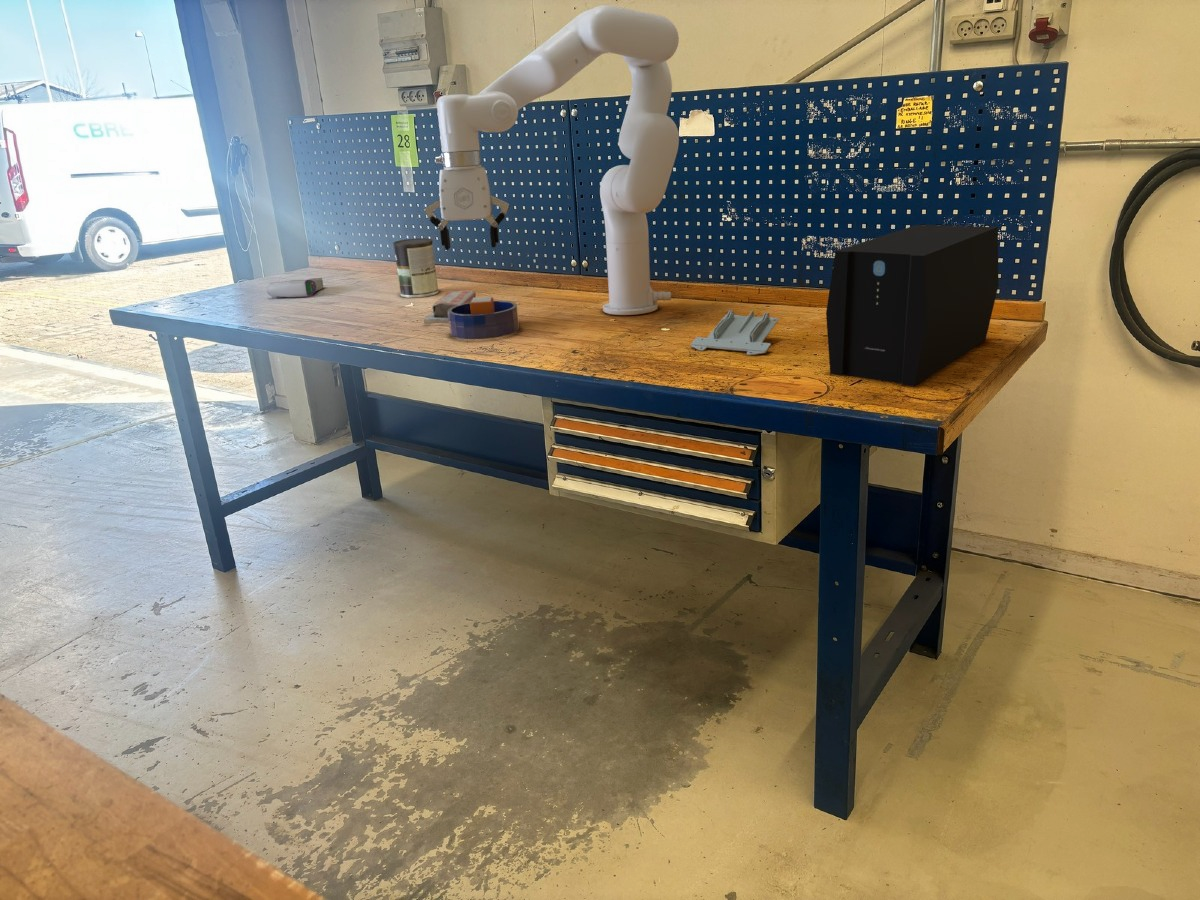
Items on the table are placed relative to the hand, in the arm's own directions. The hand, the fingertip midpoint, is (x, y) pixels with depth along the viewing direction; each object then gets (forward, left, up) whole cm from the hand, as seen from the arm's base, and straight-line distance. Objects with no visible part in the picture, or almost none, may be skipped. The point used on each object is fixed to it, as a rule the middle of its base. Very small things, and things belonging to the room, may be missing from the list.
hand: (470, 247), depth 177 cm
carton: (-1, +1, -17) cm, 17 cm away
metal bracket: (-52, +23, -18) cm, 60 cm away
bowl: (-1, +1, -18) cm, 18 cm away
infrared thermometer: (+59, -63, -18) cm, 88 cm away
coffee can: (+22, -50, -18) cm, 57 cm away
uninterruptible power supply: (-80, +38, -18) cm, 90 cm away
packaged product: (+8, -18, -18) cm, 27 cm away
